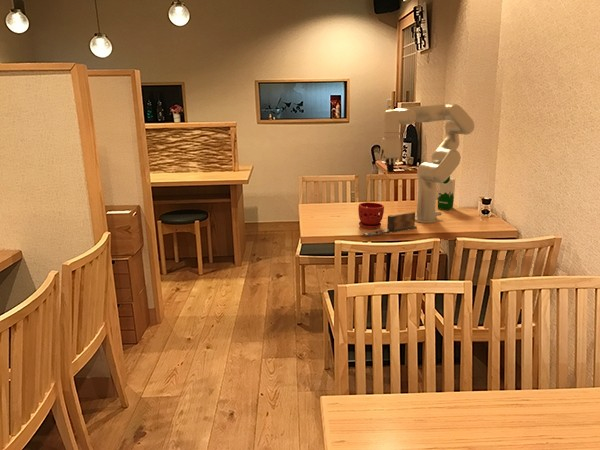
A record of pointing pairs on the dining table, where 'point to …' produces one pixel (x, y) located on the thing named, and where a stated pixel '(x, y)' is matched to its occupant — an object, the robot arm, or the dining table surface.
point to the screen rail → (387, 231)
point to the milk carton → (446, 194)
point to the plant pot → (370, 215)
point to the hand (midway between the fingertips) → (390, 171)
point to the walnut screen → (401, 221)
